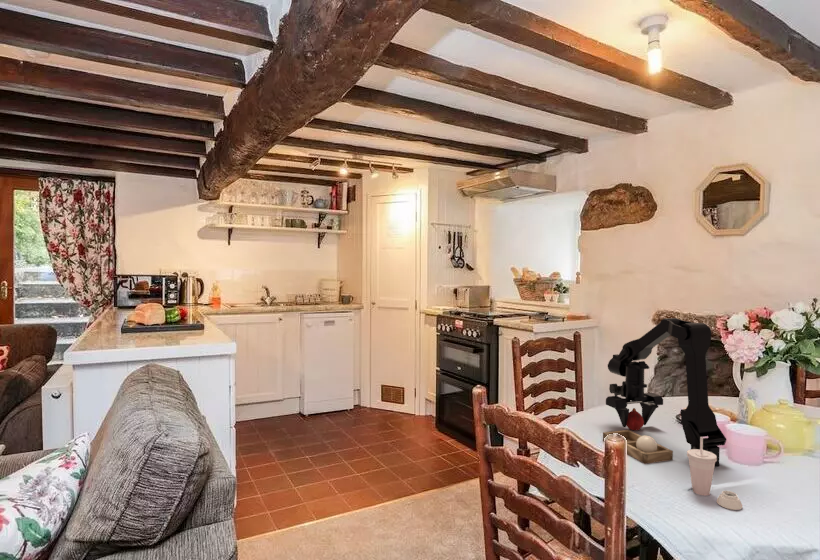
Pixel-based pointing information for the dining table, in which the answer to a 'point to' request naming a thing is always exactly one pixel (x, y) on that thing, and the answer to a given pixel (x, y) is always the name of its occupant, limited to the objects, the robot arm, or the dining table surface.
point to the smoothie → (701, 469)
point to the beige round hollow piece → (729, 500)
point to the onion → (634, 420)
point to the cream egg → (646, 444)
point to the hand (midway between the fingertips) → (634, 425)
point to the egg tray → (649, 457)
